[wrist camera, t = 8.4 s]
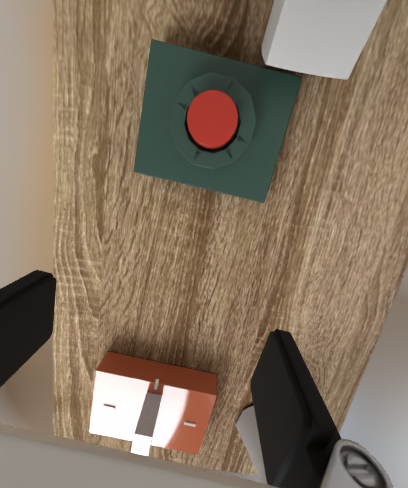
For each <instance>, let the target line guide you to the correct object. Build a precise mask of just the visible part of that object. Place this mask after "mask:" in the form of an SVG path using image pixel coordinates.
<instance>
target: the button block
mask: <svg viewBox="0 0 408 488" xmlns="http://www.w3.org/2000/svg"><path fill="white" fill-rule="evenodd" d="M301 79H302V77H299V76H295V75H291V74H287V73H284V72H280V71H276V70H272V69H268V68H264V67H260V66H256V65H252V64H248V63H244V62H240V61H236V60H232V59H228V58H224V57H221V56H217V55H213V54H209V53H205V52H201V51H197V50H193V49H189V48H185V47H181V46H177V45H173V44H169V43H165V42H161V41H157V40H154V39H152V40H151V47H150V54H149V62H148V69H147V77H146V84H145V92H144V99H143V107H142V114H141V122H140V129H139V136H138V144H137V151H136V159H135V166H134V172H135V173H140V174H144V175H148V176H152V177H157V178H161V179H165V180H169V181H173V182H178V183H182V184H186V185H190V186H195V187H199V188H203V189H207V190H212V191H216V192H220V193H224V194H228V195H233V196H237V197H241V198H245V199H250V200H254V201H258V202H262V203H264V202H265V199H266V195H267V192H268V189H269V186H270V182H271V179H272V176H273V172H274V169H275V166H276V162H277V159H278V156H279V152H280V149H281V146H282V142H283V139H284V136H285V132H286V129H287V126H288V122H289V119H290V116H291V113H292V109H293V106H294V103H295V99H296V96H297V93H298V89H299V86H300V83H301ZM208 90H219V91H222V92H224V93H225V94H227V95H228V96H229V97H230V98H231V99H232V100H233V102H234V103H235V105H236V108H237V112H238V123H237V127H236V130H235V132H234V134H233V136H232V138H231V139H230V141H229V142H228V143H227V144H225V145H224V146H222V147H220V148H216V149H208V148H205V147H202V146H201V145H199V144H198V143H197V142H196V141H195V140H194V138H193V137H192V135H191V133H190V131H189V128H188V124H187V113H188V109H189V107H190V104H191V103H192V101H193V100H194V99H195V97H197V96H198V95H199V94H200V93H202V92H204V91H208Z"/></svg>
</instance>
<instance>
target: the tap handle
mask: <svg viewBox="0 0 408 488" xmlns="http://www.w3.org/2000/svg"><path fill="white" fill-rule="evenodd" d="M161 398H162V395H159V394H154V393H149V392H147V393H146V396H145V400H144V403H143V406H142V410H141V413H140V416H139V419H138V423H137V426H136V429H135V433H134V437H133V442H132V448H131V453H135V454H140V455H144V456H148V455H149V451H150V447H151V442H152V438H153V433H154V429H155V425H156V420H157V416H158V412H159V407H160V403H161Z"/></svg>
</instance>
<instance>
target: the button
mask: <svg viewBox="0 0 408 488" xmlns="http://www.w3.org/2000/svg"><path fill="white" fill-rule="evenodd" d="M237 123H238V112H237V108H236V105H235V103H234V102H233V100H232V99H231V98H230V97H229V96H228V95H227V94H225V93H224V92H222V91H219V90H208V91H204V92H202V93H200V94H199V95H198V96H197V97H195V99H194V100H193V101H192V103H191V104H190V107H189V109H188V113H187V124H188V128H189V131H190V133H191V135H192V137H193V138H194V140H195V141H196V142H197V143H198V144H199V145H201V146H202V147H205V148H208V149H216V148H220V147H222V146H224V145H225V144H227V143H228V142H229V141H230V139H231V138H232V136H233V134H234V132H235V130H236V127H237Z"/></svg>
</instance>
